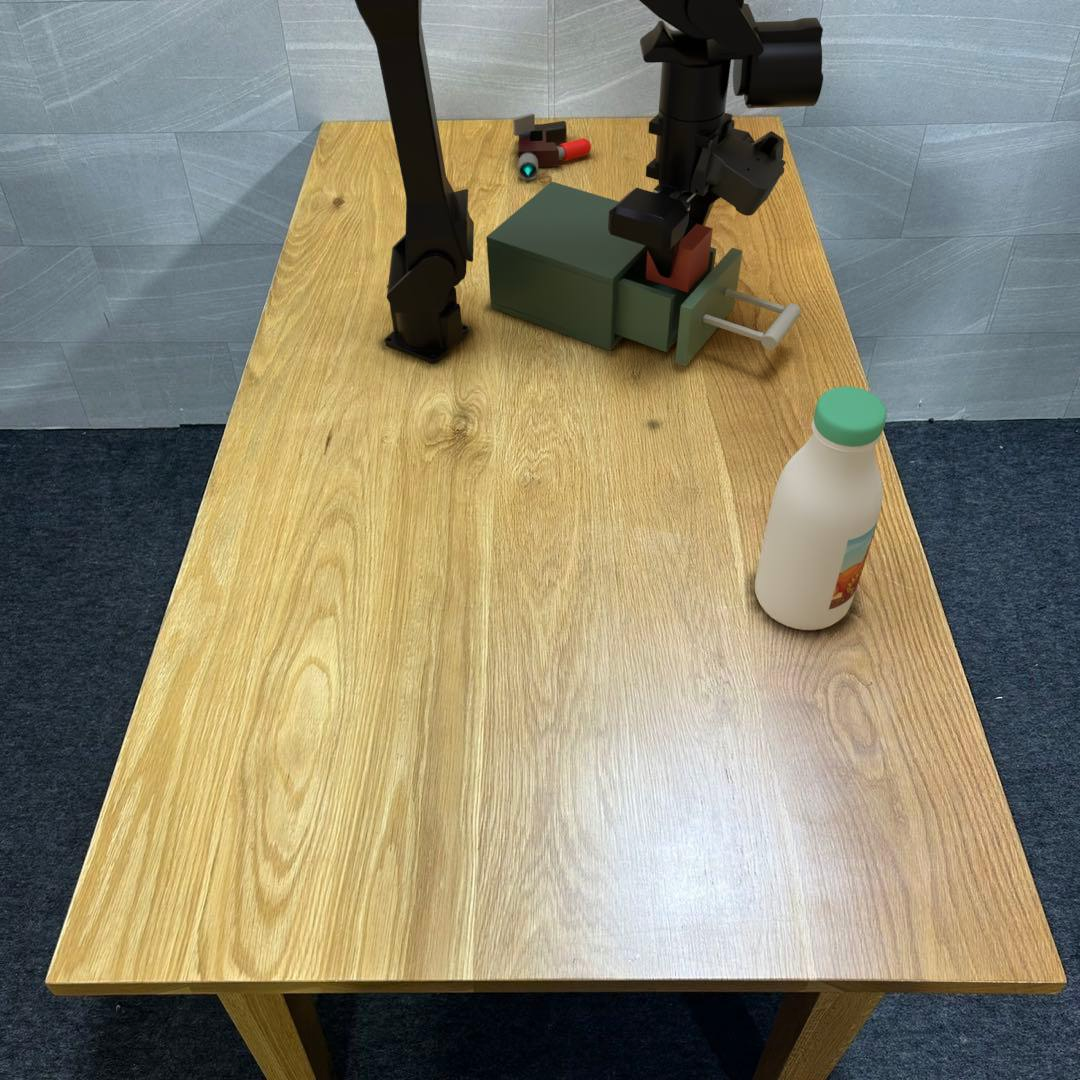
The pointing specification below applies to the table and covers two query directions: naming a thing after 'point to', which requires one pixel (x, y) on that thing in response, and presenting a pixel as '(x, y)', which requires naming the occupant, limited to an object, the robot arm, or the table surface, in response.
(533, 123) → the toy gun
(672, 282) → the block
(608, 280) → the cabinet
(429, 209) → the robot arm
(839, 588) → the milk bottle
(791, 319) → the drawer
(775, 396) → the table surface
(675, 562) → the table surface
